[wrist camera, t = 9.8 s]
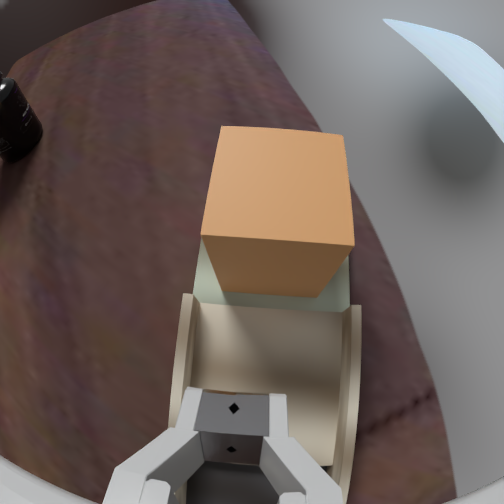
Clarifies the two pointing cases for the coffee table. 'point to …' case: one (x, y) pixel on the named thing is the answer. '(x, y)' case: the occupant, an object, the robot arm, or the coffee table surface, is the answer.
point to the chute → (272, 374)
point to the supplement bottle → (16, 122)
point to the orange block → (278, 211)
